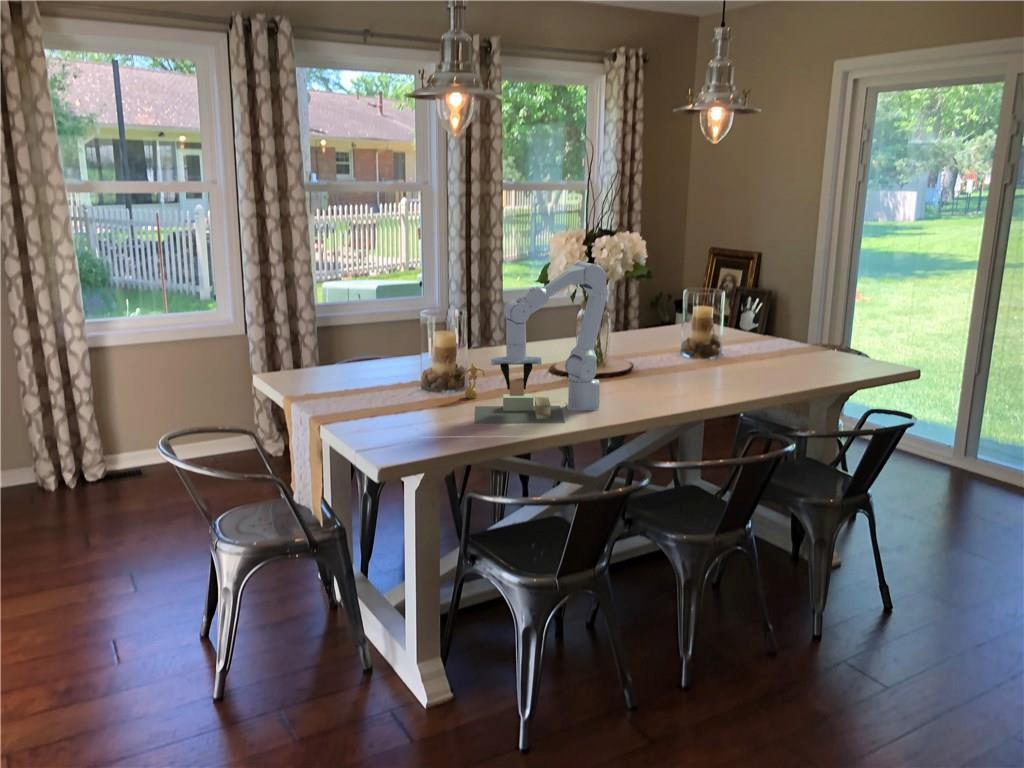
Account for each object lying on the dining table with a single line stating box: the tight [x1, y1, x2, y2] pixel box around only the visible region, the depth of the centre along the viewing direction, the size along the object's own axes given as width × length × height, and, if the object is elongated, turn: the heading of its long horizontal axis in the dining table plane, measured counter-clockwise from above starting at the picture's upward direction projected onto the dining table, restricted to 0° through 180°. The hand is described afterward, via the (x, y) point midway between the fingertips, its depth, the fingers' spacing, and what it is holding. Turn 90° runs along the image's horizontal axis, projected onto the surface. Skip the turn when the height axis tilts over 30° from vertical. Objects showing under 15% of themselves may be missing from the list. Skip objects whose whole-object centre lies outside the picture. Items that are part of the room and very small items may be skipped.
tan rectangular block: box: [508, 374, 525, 396], centre depth 244 cm, size 4×9×4 cm, turn 1°
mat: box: [474, 405, 566, 425], centre depth 246 cm, size 26×18×1 cm
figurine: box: [459, 363, 486, 400], centre depth 262 cm, size 8×6×12 cm
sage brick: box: [502, 393, 534, 411], centre depth 252 cm, size 9×4×4 cm, turn 92°
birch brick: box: [534, 396, 552, 419], centre depth 246 cm, size 4×9×4 cm, turn 2°
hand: (516, 388), depth 245 cm, fingers closed on tan rectangular block, 4 cm apart
